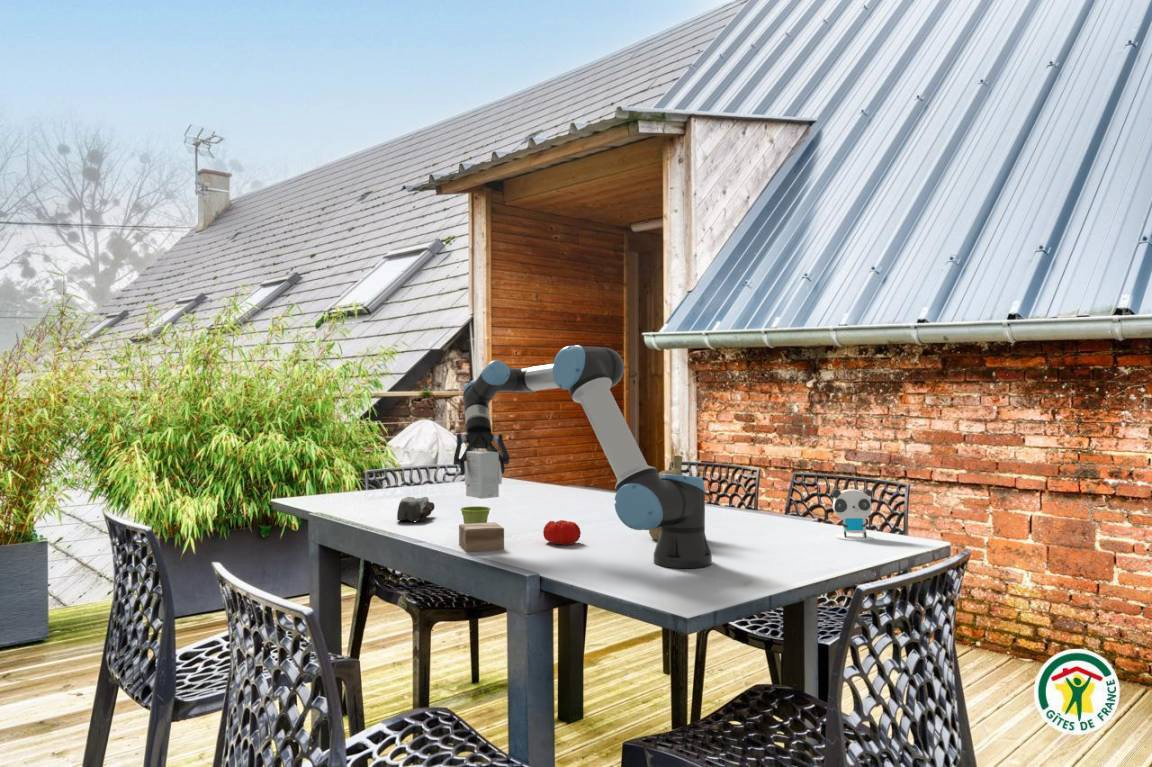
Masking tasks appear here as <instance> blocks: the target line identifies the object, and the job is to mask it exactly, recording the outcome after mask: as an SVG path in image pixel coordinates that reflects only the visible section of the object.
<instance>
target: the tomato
mask: <svg viewBox="0 0 1152 767" xmlns="http://www.w3.org/2000/svg"><path fill="white" fill-rule="evenodd" d="M542 534H543V538H544V539H545V540H546V541H547V542H550V543H553V544H555V545H563V546H569V545H572V544H574V543H576V542H578V541H579V540H580V538H581V529H580V527H579V524H577V523H576V522H573V521H567V520H564V519H560V520H558V521H557V520H556V521H554V520H550V521H548V522H547V523H546V524H545V525H544V527H543V531H542Z"/></svg>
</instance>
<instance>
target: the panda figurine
mask: <svg viewBox="0 0 1152 767" xmlns="http://www.w3.org/2000/svg"><path fill="white" fill-rule="evenodd" d="M830 492H831V493H830V494H831V496H832V497H833V498H834V499H833V502H832V510H833V512H834V513H835V514H836V516H837V517H839V518H840V525H841V533H836V534H834V538H835V539H837V540H842V541H849V542H850V541H851V542H867V541H873V540H874V537H873V536H871V535H867V526H868V524H869V519H868V518H869V516H870V515H871V513H872V510H873V506H872V501H871V498H870V497H872V496H873V492H872V490H870V489H869V488H864V489H863V490H859V489H854V488H853V489H852V488H849V489H844V490H840V489H838V488H833V489H831V491H830Z"/></svg>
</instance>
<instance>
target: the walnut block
mask: <svg viewBox="0 0 1152 767" xmlns="http://www.w3.org/2000/svg"><path fill="white" fill-rule="evenodd" d="M458 546H461V547H462V548H463V549H464V550H465V551H467V552H466V553H469V552H468V551H472V552H482V551H481V550H489V551H498V550H497V549H504V550H505V528H504V527H502V525H500V524H499V523H498V522H497V523H496V522H493V521H492V522H487V523H473V524H464V523H461V524H459V525H458ZM461 547H460V548H461ZM462 548H461V549H462ZM463 549H462V550H463ZM494 549H496V550H494ZM464 550H463V551H464ZM465 551H464V552H465Z"/></svg>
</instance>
